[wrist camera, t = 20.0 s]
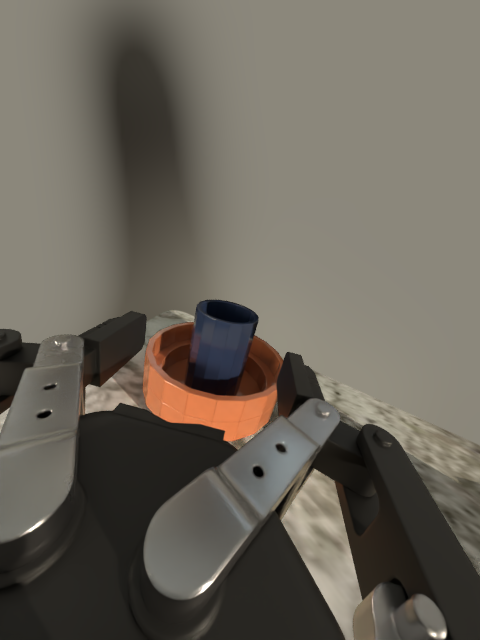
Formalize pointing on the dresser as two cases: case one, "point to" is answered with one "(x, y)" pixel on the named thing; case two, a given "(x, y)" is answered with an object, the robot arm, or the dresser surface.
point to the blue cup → (219, 347)
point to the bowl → (201, 407)
